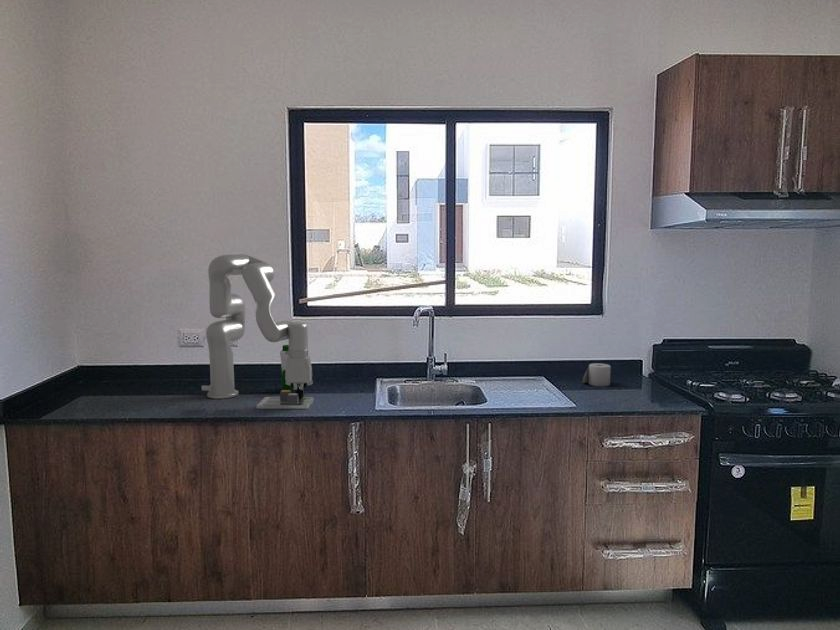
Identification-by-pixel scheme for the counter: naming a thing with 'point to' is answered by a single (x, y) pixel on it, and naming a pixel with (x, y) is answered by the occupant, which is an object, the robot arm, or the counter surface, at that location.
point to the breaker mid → (284, 395)
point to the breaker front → (292, 399)
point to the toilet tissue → (597, 374)
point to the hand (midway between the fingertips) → (299, 398)
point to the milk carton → (283, 367)
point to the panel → (284, 403)
